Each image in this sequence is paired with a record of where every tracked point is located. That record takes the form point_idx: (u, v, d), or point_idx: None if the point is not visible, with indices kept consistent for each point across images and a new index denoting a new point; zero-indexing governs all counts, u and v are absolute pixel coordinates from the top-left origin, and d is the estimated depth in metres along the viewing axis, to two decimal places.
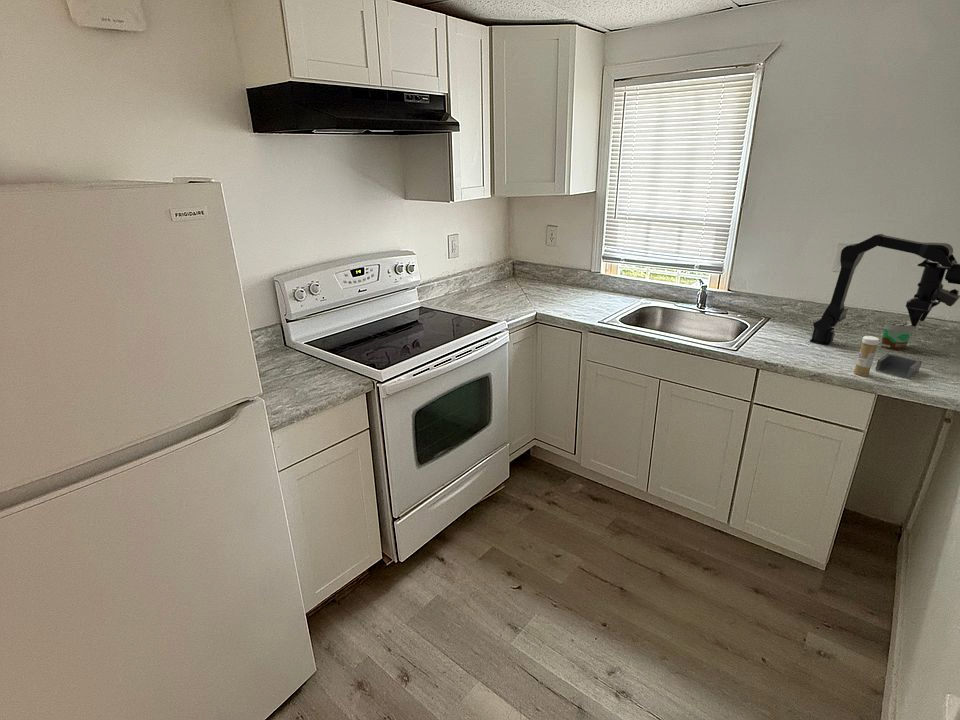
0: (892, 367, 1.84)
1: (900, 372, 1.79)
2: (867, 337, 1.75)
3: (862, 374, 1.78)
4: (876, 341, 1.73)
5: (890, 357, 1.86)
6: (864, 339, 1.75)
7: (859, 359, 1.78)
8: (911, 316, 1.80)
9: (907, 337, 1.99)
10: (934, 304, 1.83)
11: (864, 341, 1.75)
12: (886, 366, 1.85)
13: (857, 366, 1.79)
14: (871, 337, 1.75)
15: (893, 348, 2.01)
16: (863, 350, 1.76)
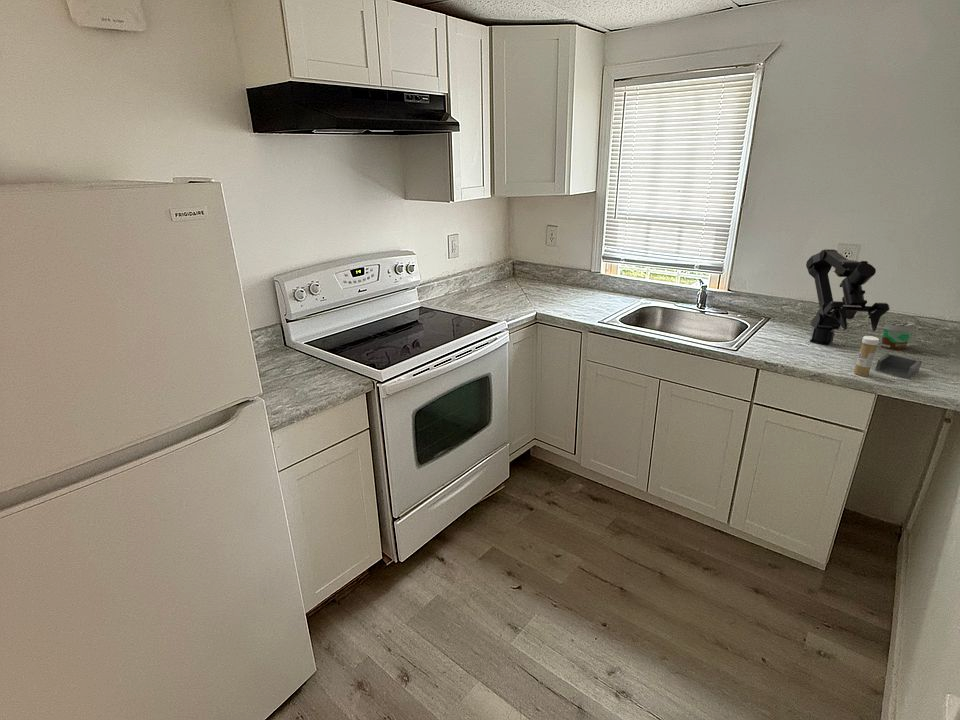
0: (892, 367, 1.84)
1: (900, 372, 1.79)
2: (867, 337, 1.75)
3: (862, 374, 1.78)
4: (876, 341, 1.73)
5: (890, 357, 1.86)
6: (864, 339, 1.75)
7: (859, 359, 1.78)
8: None
9: (907, 337, 1.99)
10: None
11: (864, 341, 1.75)
12: (886, 366, 1.85)
13: (857, 366, 1.79)
14: (871, 337, 1.75)
15: (893, 348, 2.01)
16: (863, 350, 1.76)
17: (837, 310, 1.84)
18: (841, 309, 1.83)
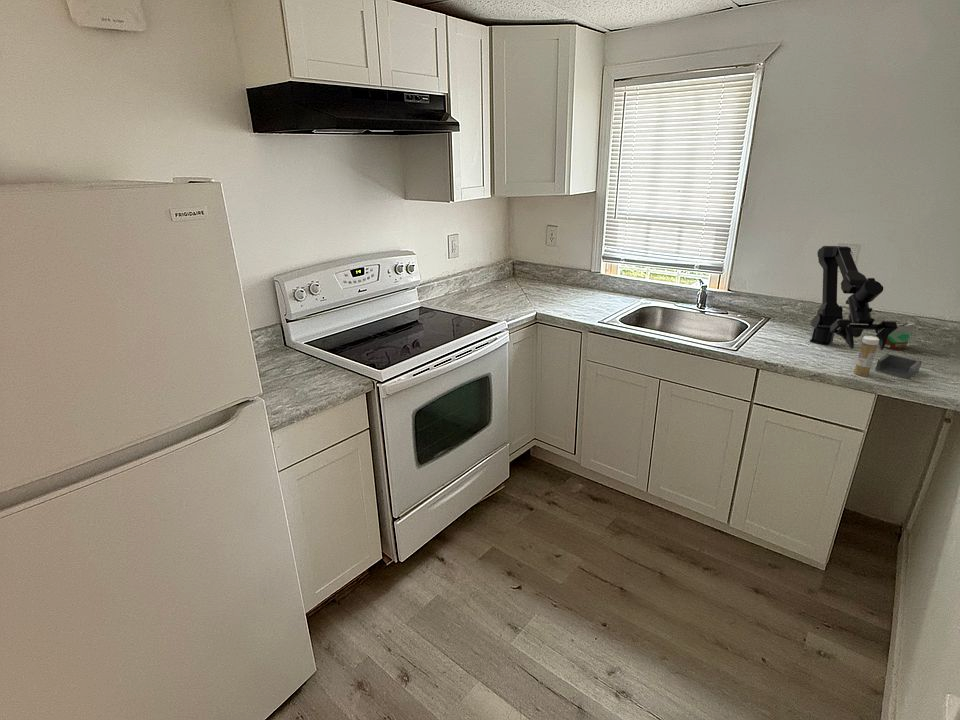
0: (892, 367, 1.84)
1: (900, 372, 1.79)
2: (867, 337, 1.75)
3: (862, 374, 1.78)
4: (876, 341, 1.73)
5: (890, 357, 1.86)
6: (864, 339, 1.75)
7: (859, 359, 1.78)
8: None
9: (907, 337, 1.99)
10: None
11: (864, 341, 1.75)
12: (886, 366, 1.85)
13: (857, 366, 1.79)
14: (871, 337, 1.75)
15: (893, 348, 2.01)
16: (863, 350, 1.76)
17: (844, 328, 1.79)
18: (848, 327, 1.78)
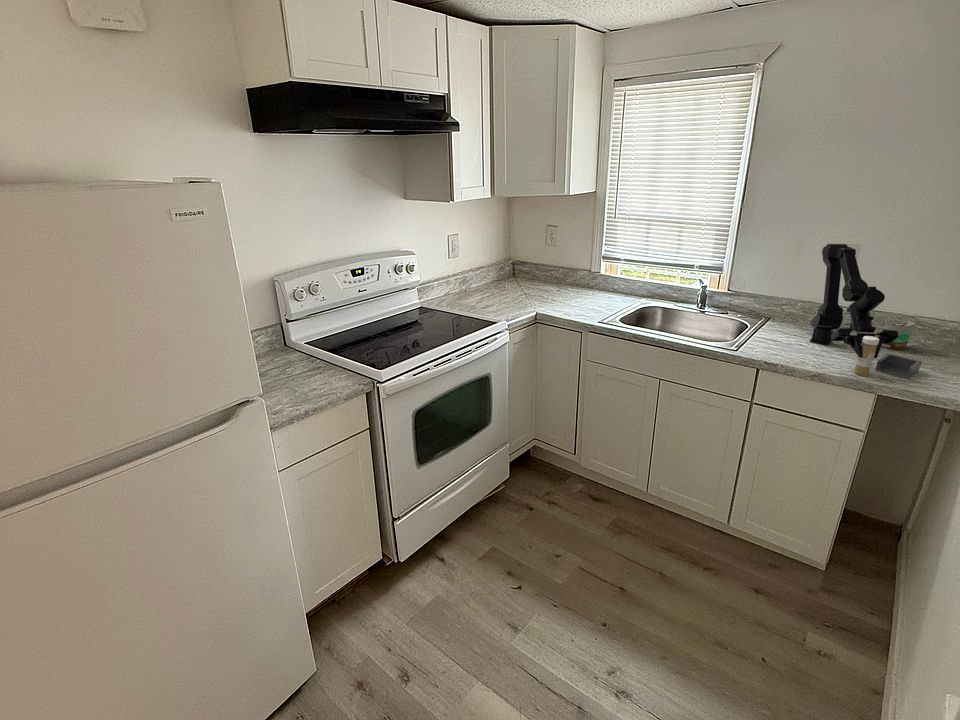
0: (892, 367, 1.84)
1: (900, 372, 1.79)
2: (867, 337, 1.75)
3: (862, 374, 1.78)
4: (876, 341, 1.73)
5: (890, 357, 1.86)
6: (864, 339, 1.75)
7: (859, 359, 1.78)
8: None
9: (907, 337, 1.99)
10: None
11: (864, 341, 1.75)
12: (886, 366, 1.85)
13: (857, 366, 1.79)
14: (871, 337, 1.75)
15: (893, 348, 2.01)
16: (863, 350, 1.76)
17: (852, 337, 1.78)
18: (856, 336, 1.77)
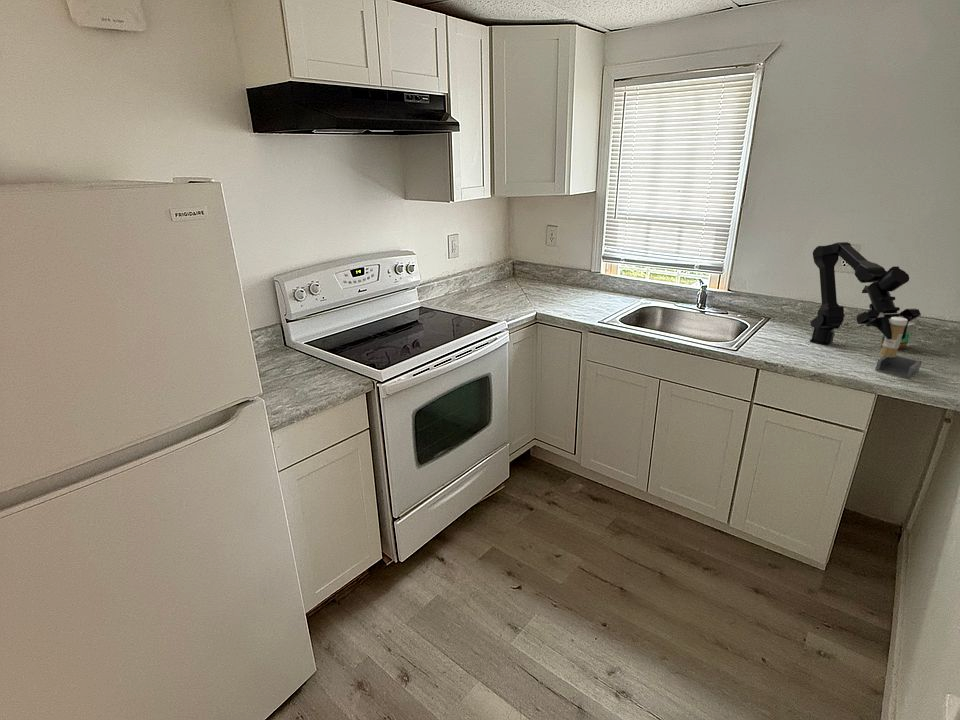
0: (892, 367, 1.84)
1: (900, 372, 1.79)
2: (895, 318, 1.73)
3: (891, 355, 1.76)
4: (906, 321, 1.71)
5: (890, 357, 1.86)
6: (893, 320, 1.73)
7: (888, 341, 1.75)
8: None
9: (907, 337, 1.99)
10: None
11: (893, 322, 1.73)
12: (886, 366, 1.85)
13: (885, 348, 1.77)
14: (899, 318, 1.73)
15: None
16: (892, 332, 1.74)
17: (880, 319, 1.75)
18: (885, 318, 1.74)
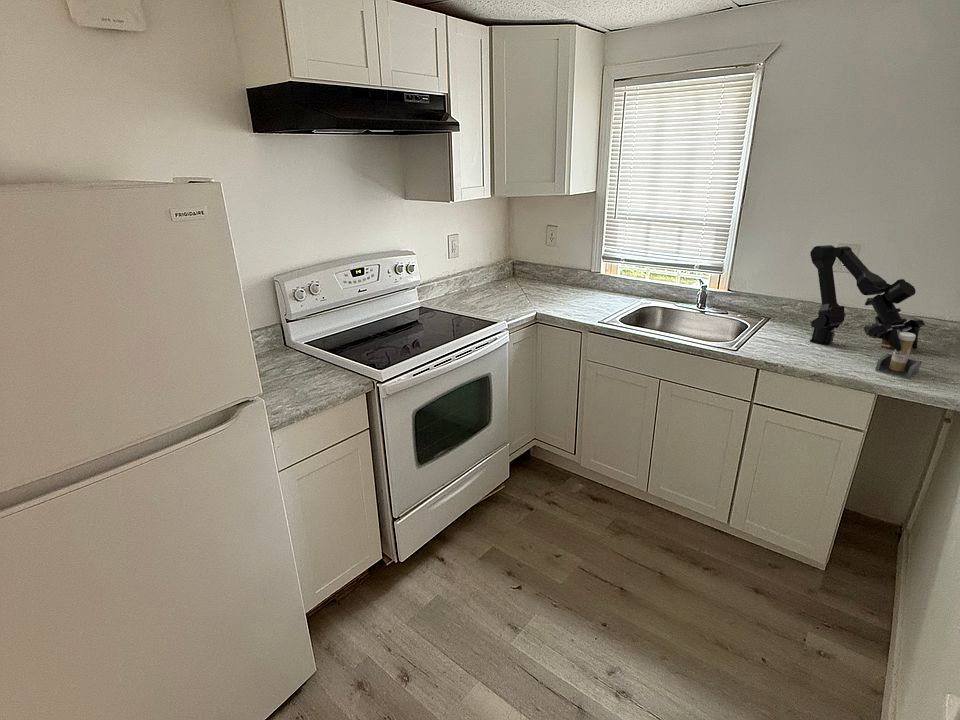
0: None
1: (900, 372, 1.79)
2: (904, 334, 1.76)
3: (901, 370, 1.80)
4: None
5: (890, 357, 1.86)
6: (903, 336, 1.76)
7: (897, 356, 1.79)
8: None
9: None
10: None
11: (903, 338, 1.76)
12: (886, 366, 1.85)
13: (895, 363, 1.80)
14: (907, 333, 1.77)
15: (893, 348, 2.01)
16: (901, 347, 1.77)
17: (889, 332, 1.77)
18: (894, 330, 1.76)
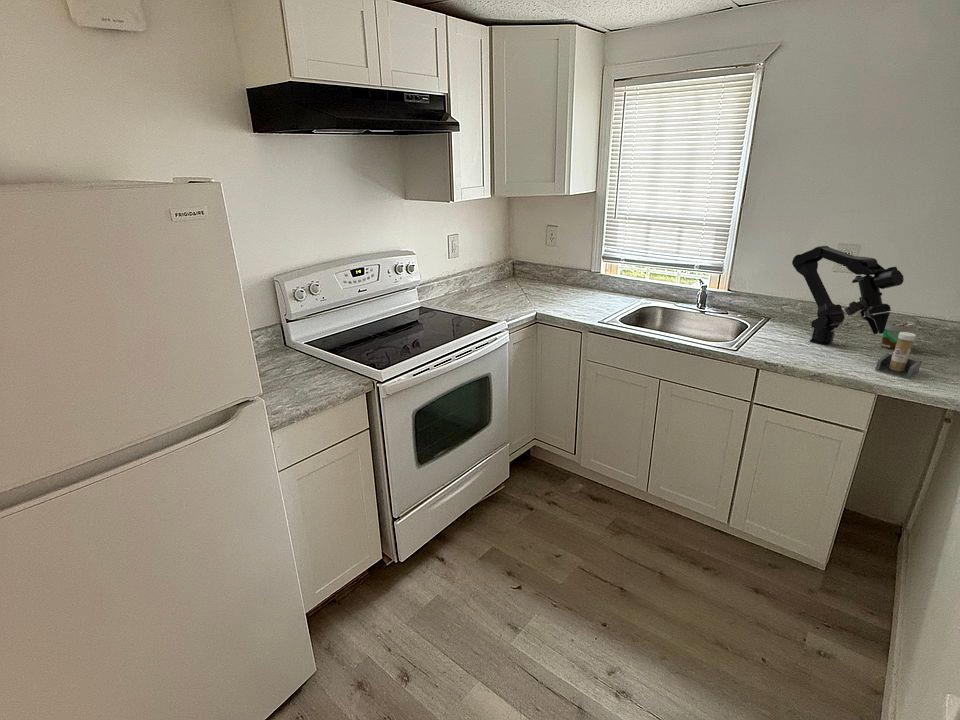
0: None
1: (900, 372, 1.79)
2: (904, 333, 1.77)
3: (901, 370, 1.80)
4: (915, 336, 1.75)
5: (890, 357, 1.86)
6: (903, 336, 1.76)
7: (897, 356, 1.79)
8: None
9: None
10: None
11: (903, 338, 1.76)
12: (886, 366, 1.85)
13: (895, 363, 1.80)
14: (907, 333, 1.77)
15: (893, 348, 2.01)
16: (902, 347, 1.77)
17: (886, 314, 1.81)
18: None
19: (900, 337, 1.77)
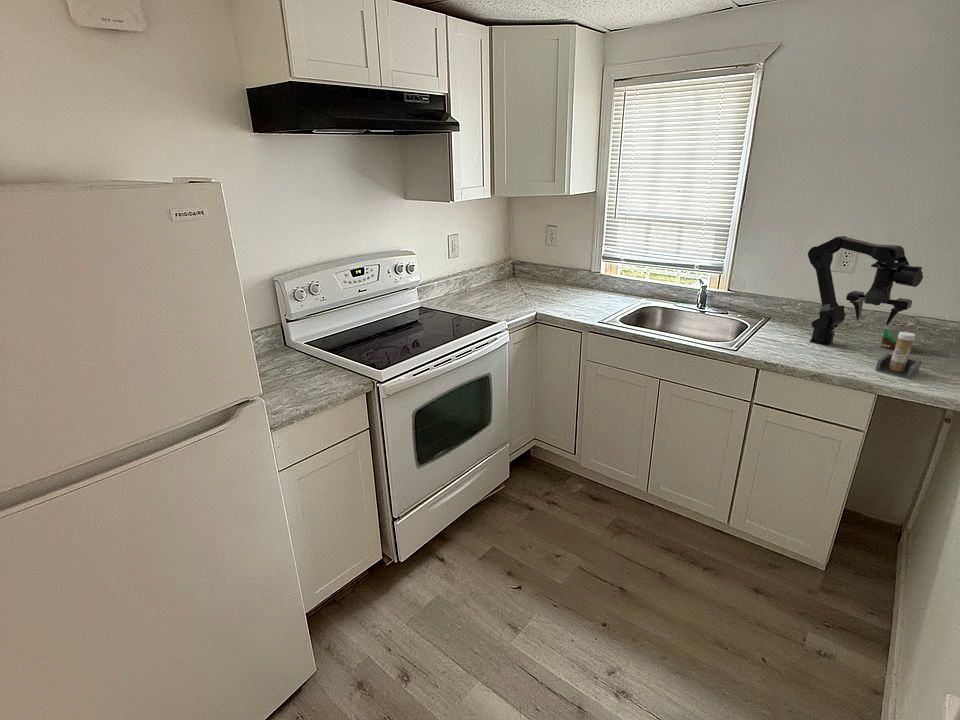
0: None
1: (900, 372, 1.79)
2: (904, 333, 1.77)
3: (901, 370, 1.80)
4: (915, 336, 1.75)
5: (890, 357, 1.86)
6: (903, 336, 1.76)
7: (897, 356, 1.79)
8: None
9: None
10: None
11: (903, 338, 1.76)
12: (886, 366, 1.85)
13: (895, 363, 1.80)
14: (906, 333, 1.77)
15: (893, 348, 2.01)
16: (901, 347, 1.77)
17: None
18: None
19: (900, 337, 1.77)
